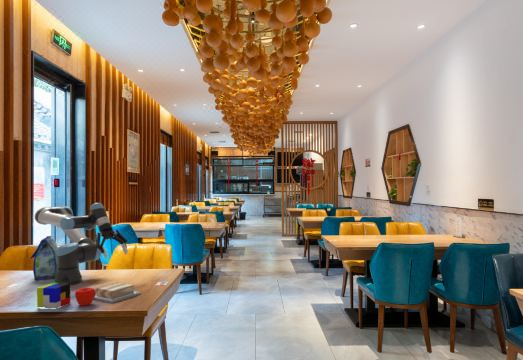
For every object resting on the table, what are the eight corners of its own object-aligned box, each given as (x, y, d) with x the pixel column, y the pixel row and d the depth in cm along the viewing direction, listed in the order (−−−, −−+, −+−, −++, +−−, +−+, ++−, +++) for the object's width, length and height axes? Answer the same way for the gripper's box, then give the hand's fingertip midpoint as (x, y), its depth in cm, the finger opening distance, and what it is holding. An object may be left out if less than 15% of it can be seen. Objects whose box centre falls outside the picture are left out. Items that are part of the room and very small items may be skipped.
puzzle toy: (55, 309, 177) (55, 288, 177) (37, 309, 179) (37, 287, 179) (70, 303, 186) (70, 283, 187) (52, 302, 188) (52, 282, 189)
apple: (98, 301, 188) (98, 286, 188) (91, 307, 179) (90, 290, 179) (80, 302, 188) (80, 286, 188) (71, 307, 179) (71, 291, 179)
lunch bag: (36, 274, 257) (36, 236, 258) (63, 272, 263) (63, 234, 263) (29, 281, 236) (28, 239, 237) (59, 278, 242) (58, 238, 243)
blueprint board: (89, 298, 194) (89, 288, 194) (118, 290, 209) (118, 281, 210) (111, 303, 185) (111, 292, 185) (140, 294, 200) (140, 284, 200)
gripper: (87, 224, 221) (100, 256, 214) (124, 220, 241) (137, 248, 234) (82, 231, 225) (94, 262, 217) (119, 226, 245) (131, 254, 238)
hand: (116, 255), depth 226 cm, fingers open, 13 cm apart
